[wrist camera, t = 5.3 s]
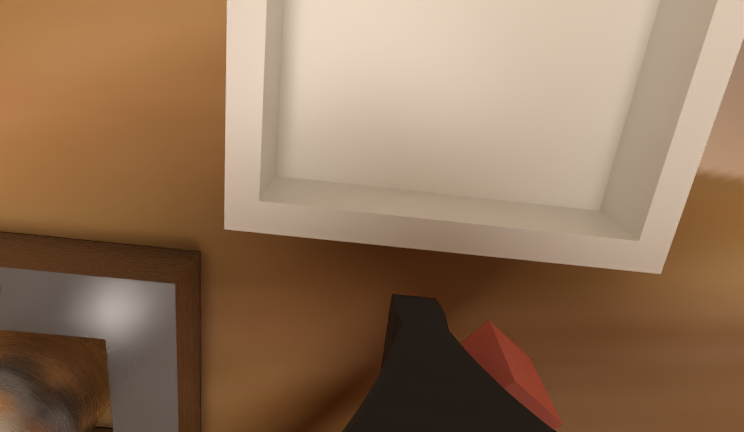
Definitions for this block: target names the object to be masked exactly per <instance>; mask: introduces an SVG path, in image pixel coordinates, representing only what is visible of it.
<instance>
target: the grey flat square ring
mask: <svg viewBox="0 0 744 432" xmlns="http://www.w3.org/2000/svg"><path fill="white" fill-rule="evenodd" d="M0 330H11V331H22V332H32V333H43V334H54V335H65V336H76V337H87V338H98V339H106V351H107V363H108V375H109V387H110V399H111V411H112V424H113V429H104V428H93V429H92V431H91V432H201V412H200V252H195V251H185V250H175V249H165V248H155V247H145V246H135V245H125V244H115V243H105V242H95V241H85V240H75V239H65V238H55V237H45V236H35V235H25V234H15V233H5V232H0Z"/></svg>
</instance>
